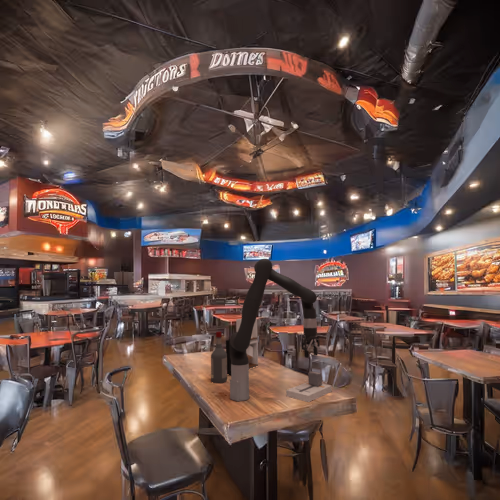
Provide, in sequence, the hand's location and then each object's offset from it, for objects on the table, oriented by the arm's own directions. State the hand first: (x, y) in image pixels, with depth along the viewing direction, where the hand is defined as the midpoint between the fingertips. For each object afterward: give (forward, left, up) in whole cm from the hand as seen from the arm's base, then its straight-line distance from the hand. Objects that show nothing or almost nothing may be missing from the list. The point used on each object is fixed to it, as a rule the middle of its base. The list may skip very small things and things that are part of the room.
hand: (311, 356), depth 171 cm
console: (-5, -1, -18) cm, 19 cm away
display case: (+16, +67, -19) cm, 71 cm away
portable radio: (-4, +62, -19) cm, 65 cm away
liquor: (-21, +55, -19) cm, 62 cm away
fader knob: (+1, -1, -15) cm, 15 cm away
